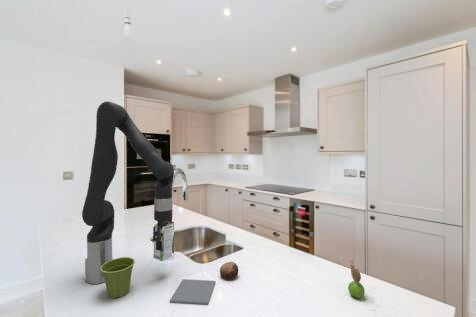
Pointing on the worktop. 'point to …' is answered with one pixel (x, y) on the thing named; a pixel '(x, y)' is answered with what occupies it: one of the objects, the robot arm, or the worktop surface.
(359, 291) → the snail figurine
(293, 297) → the worktop surface
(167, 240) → the syrup box
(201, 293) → the slate pad
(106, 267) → the plant pot
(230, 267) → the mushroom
